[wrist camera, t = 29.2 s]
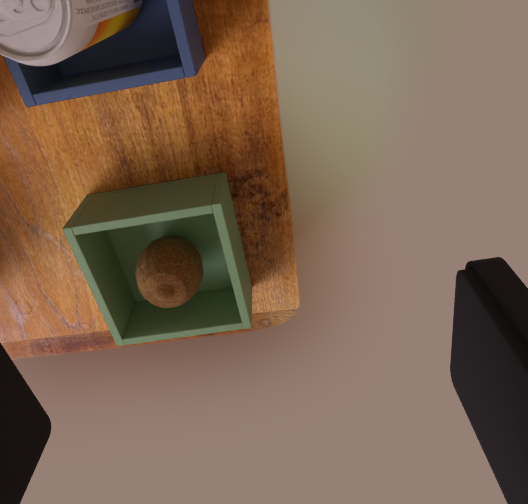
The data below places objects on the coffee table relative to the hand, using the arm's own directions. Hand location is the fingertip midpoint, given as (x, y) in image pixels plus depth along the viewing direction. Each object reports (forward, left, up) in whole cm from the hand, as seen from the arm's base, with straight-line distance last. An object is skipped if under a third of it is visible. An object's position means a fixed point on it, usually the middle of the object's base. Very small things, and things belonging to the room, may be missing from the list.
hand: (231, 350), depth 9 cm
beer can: (+10, -7, -33) cm, 35 cm away
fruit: (+11, +16, -33) cm, 38 cm away
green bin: (+11, +16, -33) cm, 38 cm away
